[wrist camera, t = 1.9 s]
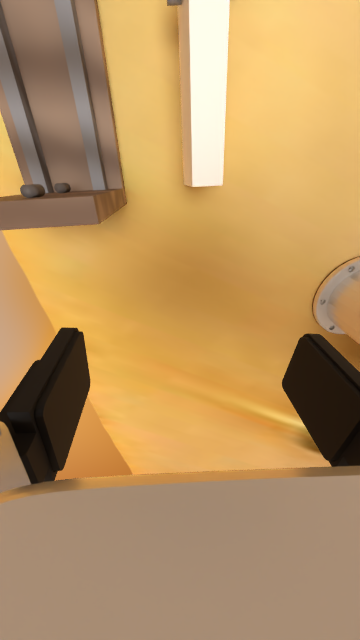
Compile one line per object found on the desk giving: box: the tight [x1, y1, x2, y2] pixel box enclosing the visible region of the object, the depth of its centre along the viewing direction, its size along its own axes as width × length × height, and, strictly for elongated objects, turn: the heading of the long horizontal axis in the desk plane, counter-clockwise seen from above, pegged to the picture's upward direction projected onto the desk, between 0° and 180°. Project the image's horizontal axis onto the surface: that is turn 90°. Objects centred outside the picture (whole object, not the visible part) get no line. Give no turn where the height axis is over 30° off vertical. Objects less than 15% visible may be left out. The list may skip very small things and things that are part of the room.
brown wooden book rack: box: [0, 0, 127, 230], centre depth 16 cm, size 21×10×14 cm, turn 3°
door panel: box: [167, 0, 230, 187], centre depth 20 cm, size 14×4×9 cm, turn 3°
